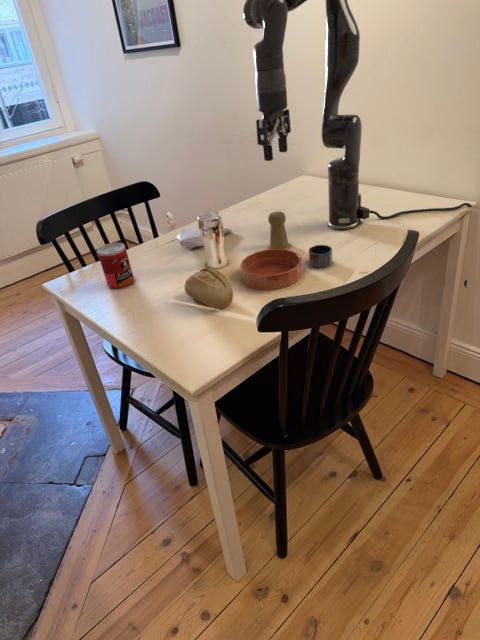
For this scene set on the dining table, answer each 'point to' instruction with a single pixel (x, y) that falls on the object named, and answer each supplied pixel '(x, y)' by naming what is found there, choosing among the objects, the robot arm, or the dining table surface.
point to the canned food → (115, 265)
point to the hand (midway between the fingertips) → (276, 156)
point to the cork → (277, 230)
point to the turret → (192, 237)
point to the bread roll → (210, 288)
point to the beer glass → (212, 238)
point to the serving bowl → (272, 269)
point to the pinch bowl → (320, 256)
